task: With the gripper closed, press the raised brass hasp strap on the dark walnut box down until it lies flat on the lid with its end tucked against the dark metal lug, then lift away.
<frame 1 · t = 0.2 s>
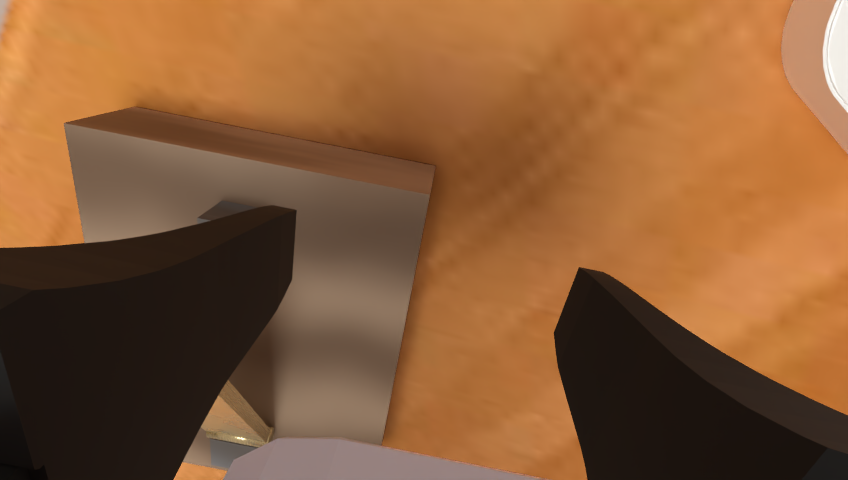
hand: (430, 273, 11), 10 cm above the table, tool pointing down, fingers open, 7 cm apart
hasp: (212, 408, 18), point 7 cm above the table, hinge at 30.0°
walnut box: (278, 299, 24), on the table
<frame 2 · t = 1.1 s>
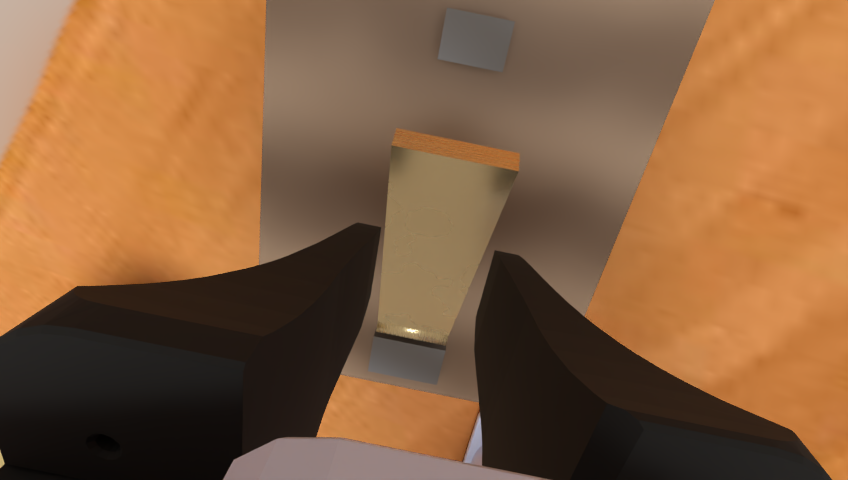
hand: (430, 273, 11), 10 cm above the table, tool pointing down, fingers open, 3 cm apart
hasp: (427, 267, 15), point 7 cm above the table, hinge at 30.0°
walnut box: (441, 184, 21), on the table
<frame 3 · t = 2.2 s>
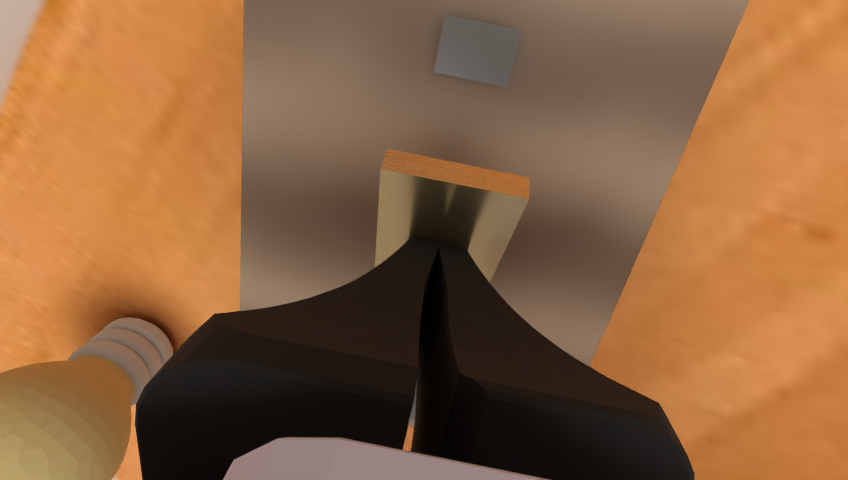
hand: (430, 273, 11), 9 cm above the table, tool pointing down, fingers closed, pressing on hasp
hasp: (423, 301, 13), point 7 cm above the table, hinge at 28.7°, touching gripper
light bulb: (148, 337, 24), on the table
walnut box: (439, 204, 20), on the table
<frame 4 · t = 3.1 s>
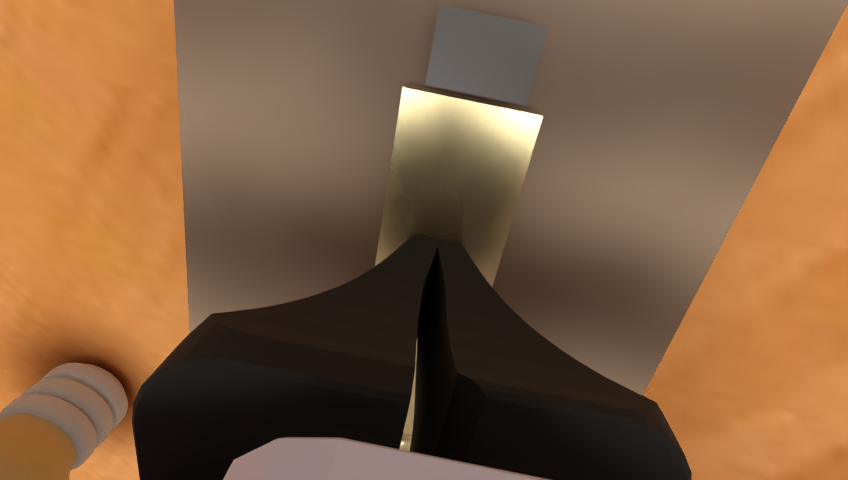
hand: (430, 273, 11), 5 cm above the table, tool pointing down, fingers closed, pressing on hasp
hasp: (425, 307, 12), point 5 cm above the table, hinge at 1.1°, touching gripper
light bulb: (100, 383, 21), on the table
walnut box: (436, 236, 16), on the table
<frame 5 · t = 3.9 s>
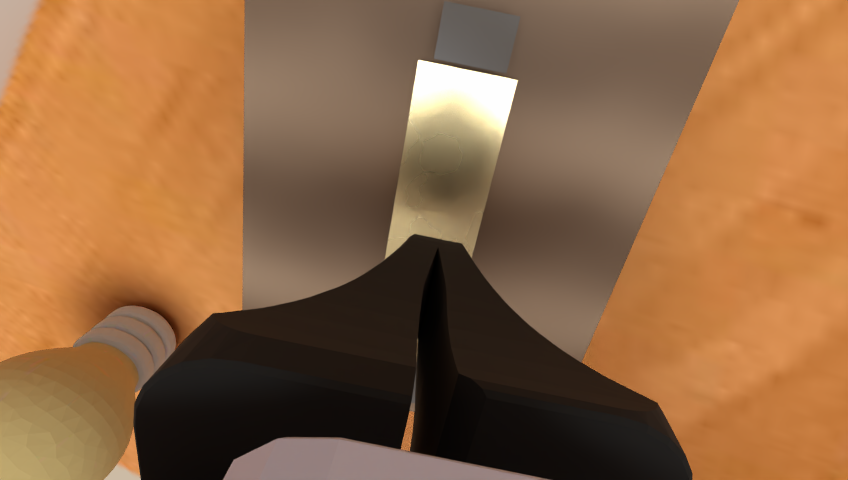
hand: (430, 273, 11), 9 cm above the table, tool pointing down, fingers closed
hasp: (432, 233, 16), point 4 cm above the table, hinge at -1.7°, touching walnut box
light bulb: (151, 326, 25), on the table
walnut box: (439, 192, 20), on the table
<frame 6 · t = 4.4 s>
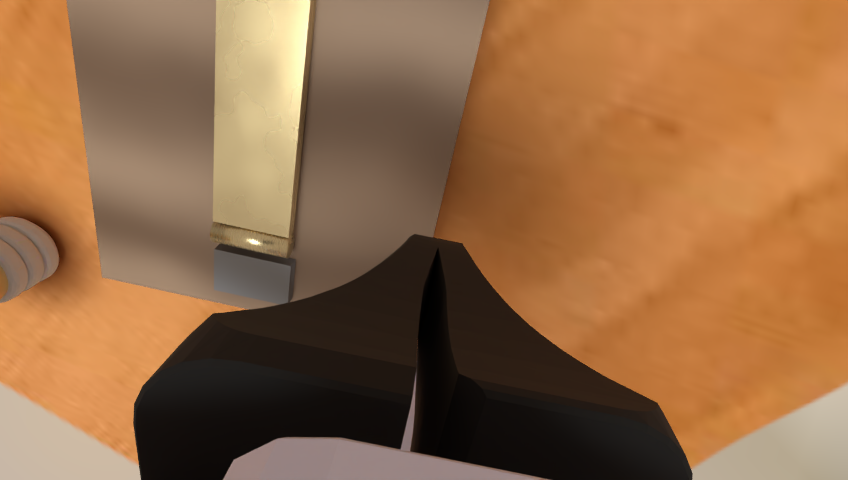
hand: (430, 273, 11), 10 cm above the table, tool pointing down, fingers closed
hasp: (260, 111, 16), point 4 cm above the table, hinge at -1.8°, touching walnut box
light bulb: (36, 242, 25), on the table
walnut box: (301, 95, 20), on the table
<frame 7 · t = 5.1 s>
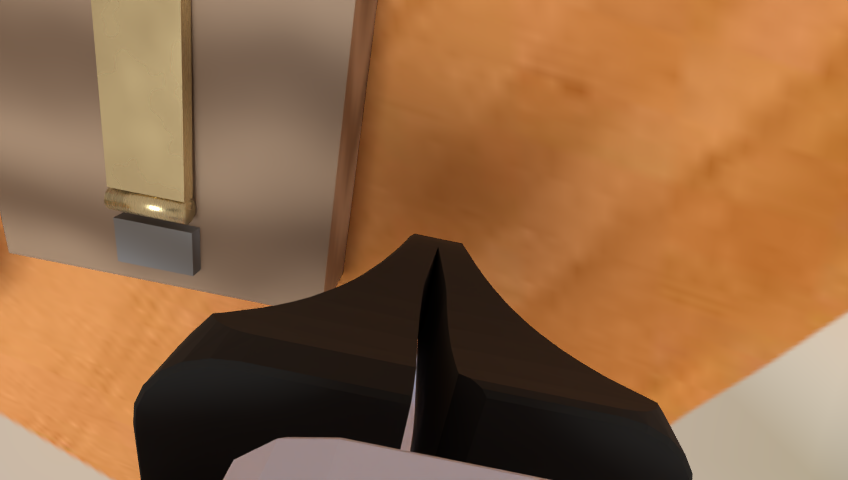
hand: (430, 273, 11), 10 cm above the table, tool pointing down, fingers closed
hasp: (144, 70, 16), point 4 cm above the table, hinge at -1.8°, touching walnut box
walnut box: (209, 65, 20), on the table
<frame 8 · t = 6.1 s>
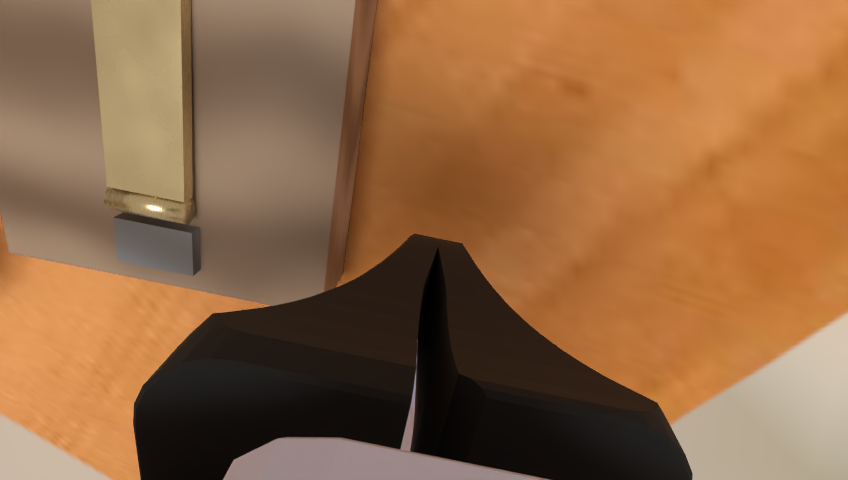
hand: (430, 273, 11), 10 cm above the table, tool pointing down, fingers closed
hasp: (144, 70, 16), point 4 cm above the table, hinge at -1.8°, touching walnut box
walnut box: (209, 65, 20), on the table
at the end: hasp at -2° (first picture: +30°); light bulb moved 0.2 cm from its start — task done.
